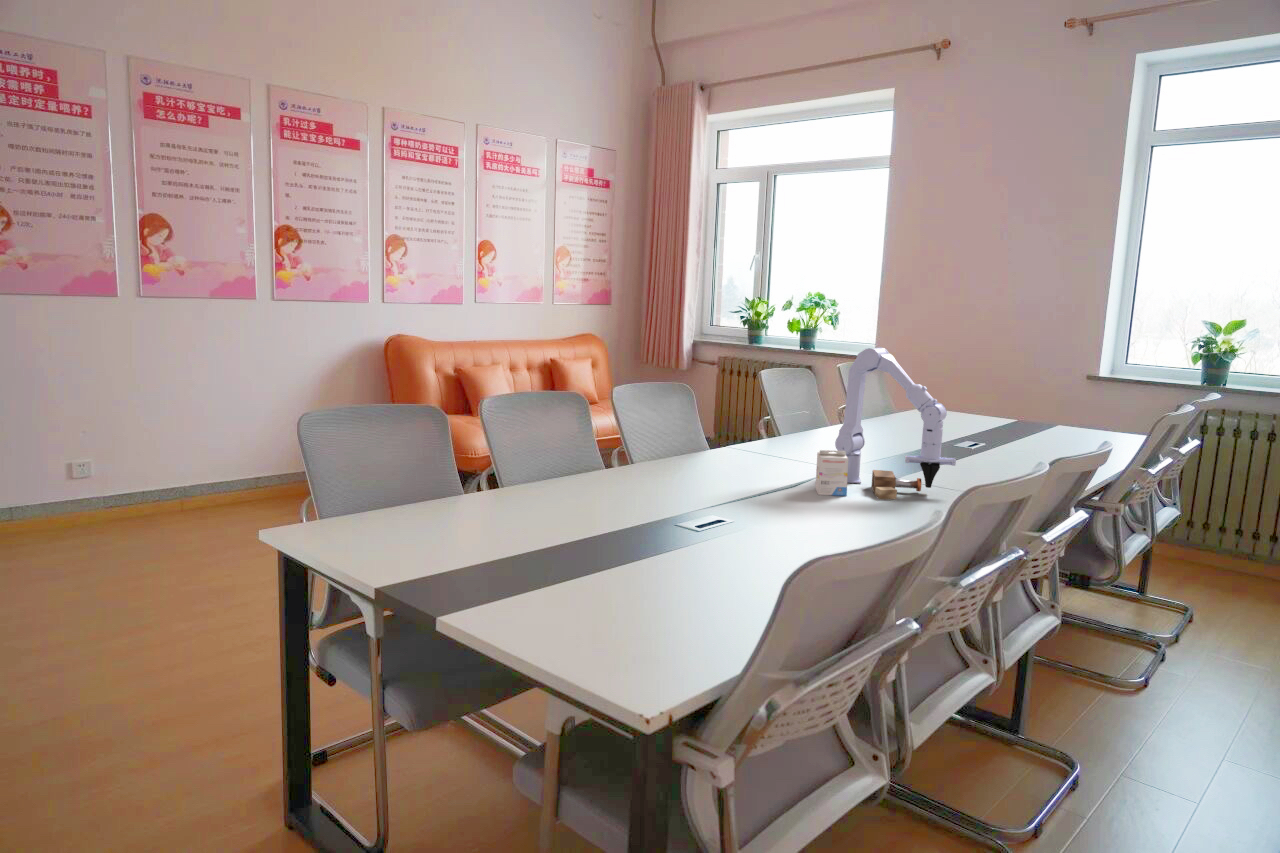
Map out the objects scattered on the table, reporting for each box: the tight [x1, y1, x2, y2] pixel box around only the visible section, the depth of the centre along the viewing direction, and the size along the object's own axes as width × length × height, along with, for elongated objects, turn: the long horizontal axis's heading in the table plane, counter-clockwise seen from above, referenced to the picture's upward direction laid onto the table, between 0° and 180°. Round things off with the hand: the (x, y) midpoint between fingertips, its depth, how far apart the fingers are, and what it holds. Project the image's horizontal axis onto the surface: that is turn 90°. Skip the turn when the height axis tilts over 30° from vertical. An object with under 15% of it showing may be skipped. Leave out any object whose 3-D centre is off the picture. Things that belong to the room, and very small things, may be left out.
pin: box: [895, 477, 922, 492], centre depth 263 cm, size 12×4×4 cm, turn 79°
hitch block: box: [871, 469, 897, 495], centre depth 264 cm, size 6×10×5 cm, turn 169°
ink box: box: [815, 449, 848, 497], centre depth 259 cm, size 9×8×13 cm
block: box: [874, 487, 898, 500], centre depth 255 cm, size 5×4×3 cm
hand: (928, 487), depth 261 cm, fingers closed
